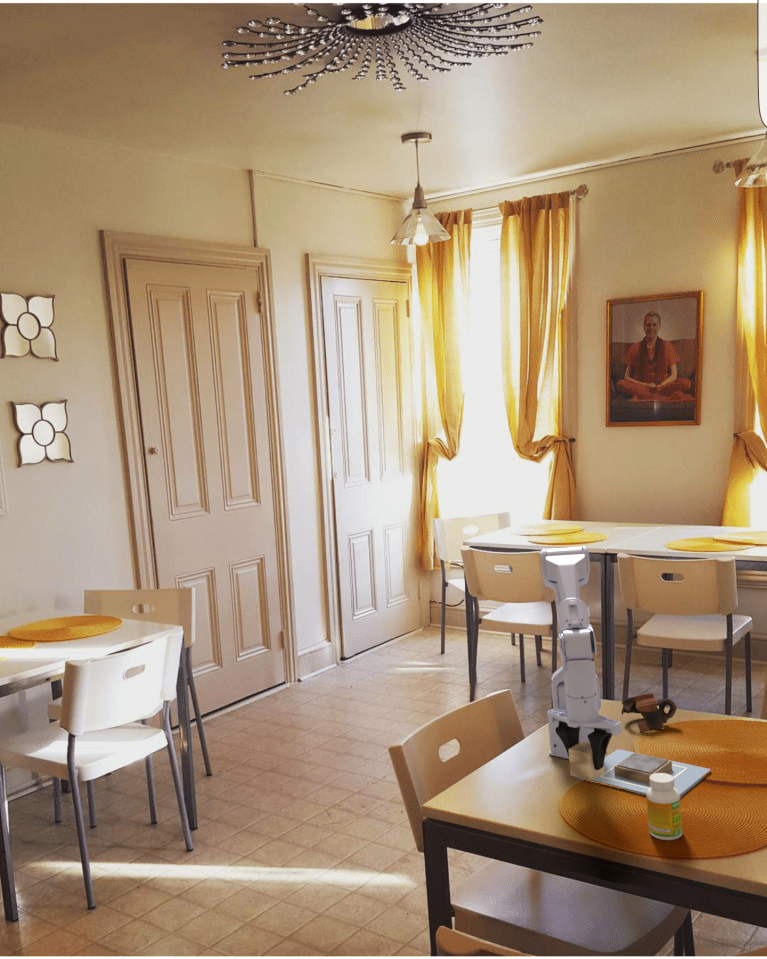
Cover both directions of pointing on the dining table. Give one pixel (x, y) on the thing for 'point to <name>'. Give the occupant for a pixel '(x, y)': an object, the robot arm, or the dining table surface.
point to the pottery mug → (649, 711)
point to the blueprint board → (646, 772)
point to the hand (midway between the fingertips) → (586, 765)
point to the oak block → (583, 762)
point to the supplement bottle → (664, 807)
